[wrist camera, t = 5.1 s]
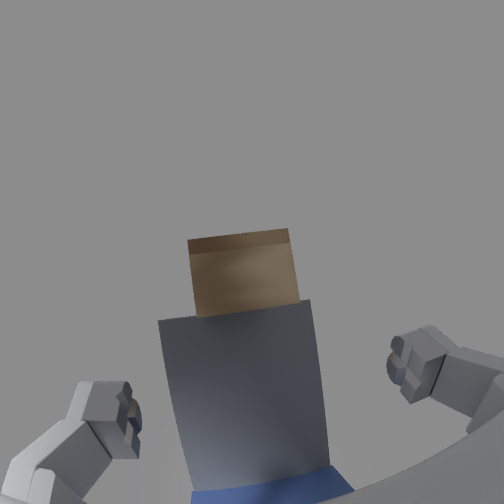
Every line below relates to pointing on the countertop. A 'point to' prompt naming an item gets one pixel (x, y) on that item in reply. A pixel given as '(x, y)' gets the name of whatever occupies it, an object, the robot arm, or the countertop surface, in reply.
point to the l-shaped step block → (251, 406)
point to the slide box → (242, 272)
